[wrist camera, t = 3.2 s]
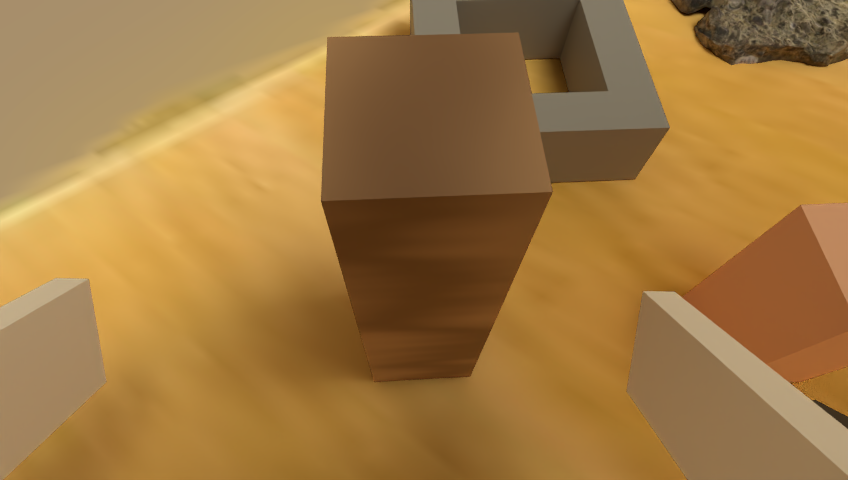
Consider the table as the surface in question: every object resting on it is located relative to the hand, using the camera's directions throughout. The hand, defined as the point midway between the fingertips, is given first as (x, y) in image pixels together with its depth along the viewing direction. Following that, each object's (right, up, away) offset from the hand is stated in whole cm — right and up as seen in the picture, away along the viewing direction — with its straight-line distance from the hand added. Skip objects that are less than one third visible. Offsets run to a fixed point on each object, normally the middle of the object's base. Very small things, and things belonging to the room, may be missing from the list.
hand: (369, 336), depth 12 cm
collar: (+6, +10, +16) cm, 20 cm away
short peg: (+15, -2, +10) cm, 18 cm away
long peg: (+1, -2, +10) cm, 10 cm away
